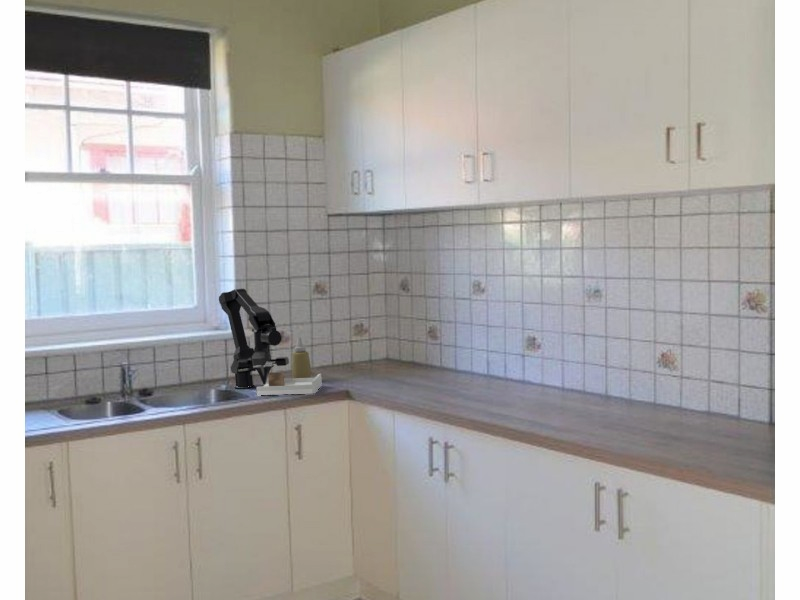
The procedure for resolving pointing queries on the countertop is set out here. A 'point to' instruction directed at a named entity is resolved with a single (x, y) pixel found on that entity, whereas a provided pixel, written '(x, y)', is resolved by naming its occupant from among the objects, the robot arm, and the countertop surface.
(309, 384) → the board
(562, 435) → the countertop surface
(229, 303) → the robot arm
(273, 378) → the block
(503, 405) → the countertop surface
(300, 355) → the squeeze bottle
